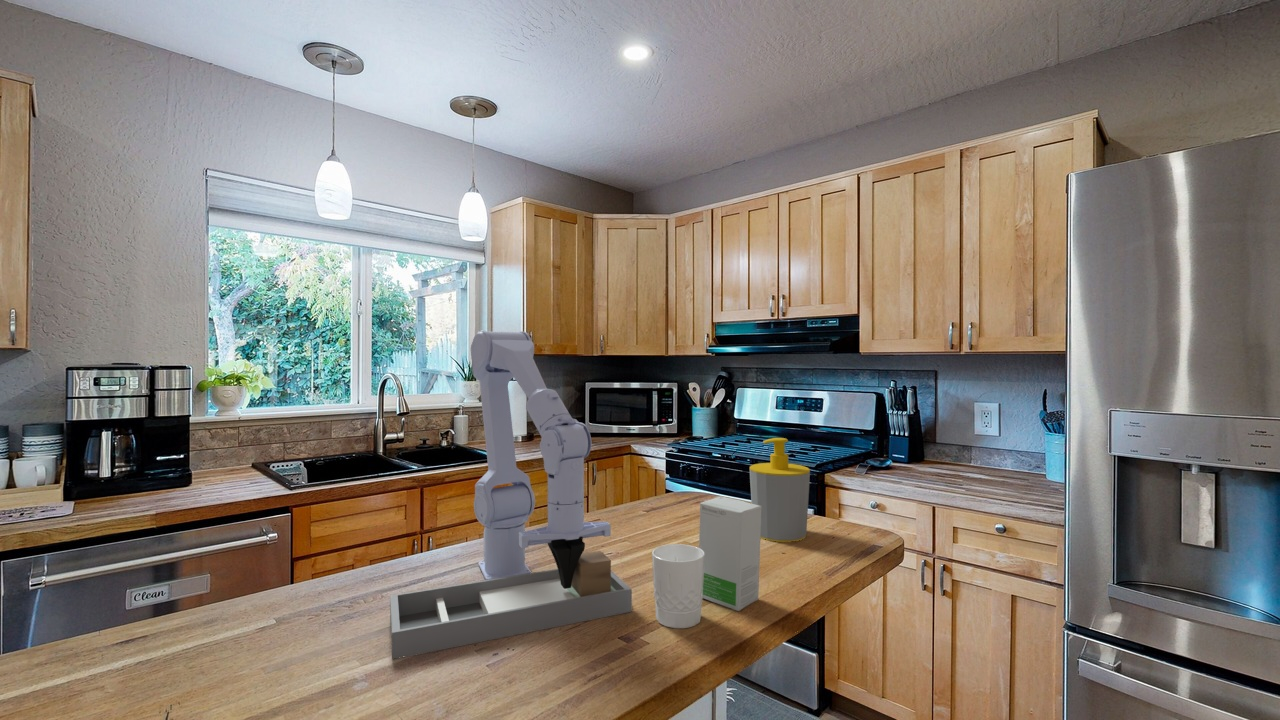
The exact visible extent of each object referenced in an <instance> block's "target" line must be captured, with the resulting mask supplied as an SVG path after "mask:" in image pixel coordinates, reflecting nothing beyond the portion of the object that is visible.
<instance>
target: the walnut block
mask: <svg viewBox="0 0 1280 720" xmlns="http://www.w3.org/2000/svg"><path fill="white" fill-rule="evenodd" d="M611 566H612V561H611V559H610V558H609V557H608V556H607V555H605V553H604V552H602V550H595V551H590V552H588V551H587V552H583V553H582V555H581V557H580V558H579V561H578V563H577V566H576V568H575V572H574V575H573V579H572V584H571V586H572V587H573V588H574V589H575V591H576V592H577V593H578V594H579V595H580V597H582V596H588V595H594V594H600V593H605V592H611V571H612V567H611Z"/></svg>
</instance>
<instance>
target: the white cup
mask: <svg viewBox="0 0 1280 720" xmlns="http://www.w3.org/2000/svg"><path fill="white" fill-rule="evenodd" d="M651 557H652V559H651V560H652V579H653V580H652V581H653V591H654V593H653V594H654V601H655V607H654V608H655V619H656V620H657V622H658V623H659V624H661V625H662V626H664V627H666V628H667V627H668V628H673V629H689V628H692V627H695V626H696V625H698V624H699V623H700V622H701V617H702V603H703V598H702V597H703V583H704V558H705V553H704V551H703V550H702V549H700V548H699V546H695V545H690V544H683V543H682V544H681V543H671V544H670V543H669V544H663V545H660V546H657V547H655V548H654V549H653V550H652V551H651Z"/></svg>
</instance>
